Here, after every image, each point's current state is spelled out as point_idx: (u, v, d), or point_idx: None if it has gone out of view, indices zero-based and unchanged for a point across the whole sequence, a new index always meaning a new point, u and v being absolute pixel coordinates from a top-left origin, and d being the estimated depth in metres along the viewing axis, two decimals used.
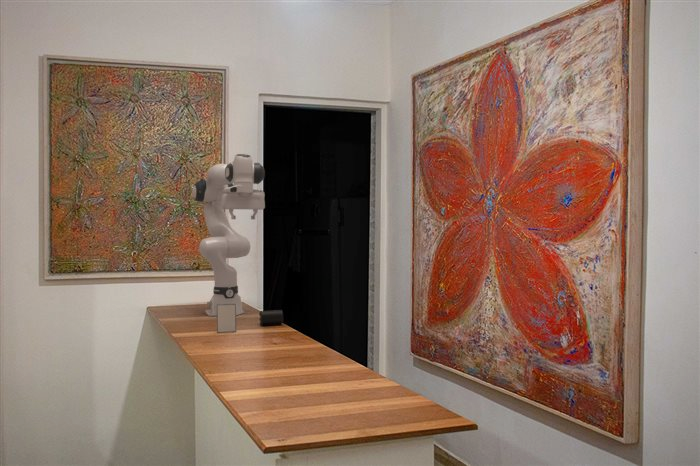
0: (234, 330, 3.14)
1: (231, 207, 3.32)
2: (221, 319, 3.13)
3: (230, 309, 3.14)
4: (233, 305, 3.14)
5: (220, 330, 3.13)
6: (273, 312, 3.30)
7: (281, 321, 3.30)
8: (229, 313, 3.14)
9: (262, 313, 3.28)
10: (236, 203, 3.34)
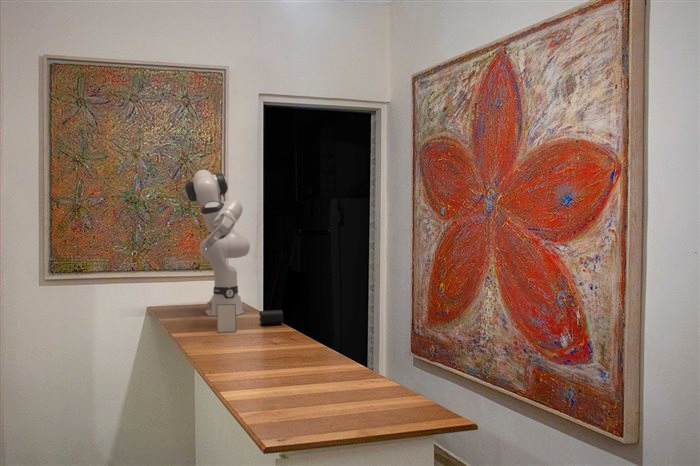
0: (234, 330, 3.14)
1: (224, 232, 3.18)
2: (221, 319, 3.13)
3: (230, 309, 3.14)
4: (233, 305, 3.14)
5: (220, 330, 3.13)
6: (273, 312, 3.30)
7: (281, 321, 3.30)
8: (229, 313, 3.14)
9: (262, 313, 3.28)
10: None
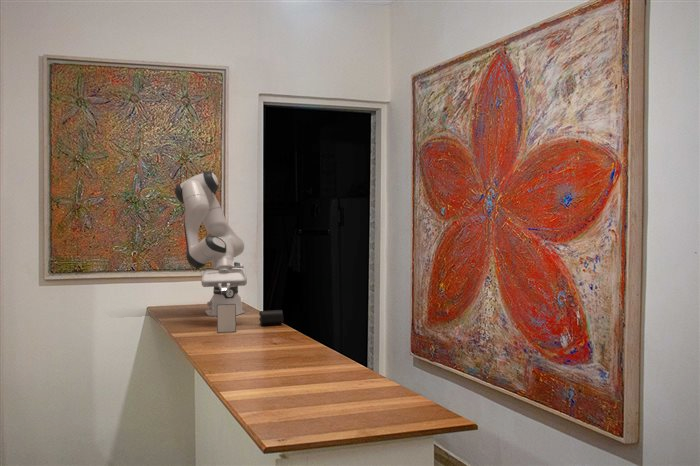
0: (234, 330, 3.14)
1: None
2: (221, 319, 3.13)
3: (230, 309, 3.14)
4: (233, 305, 3.14)
5: (220, 330, 3.13)
6: (273, 312, 3.30)
7: (281, 321, 3.30)
8: (229, 313, 3.14)
9: (262, 313, 3.28)
10: None
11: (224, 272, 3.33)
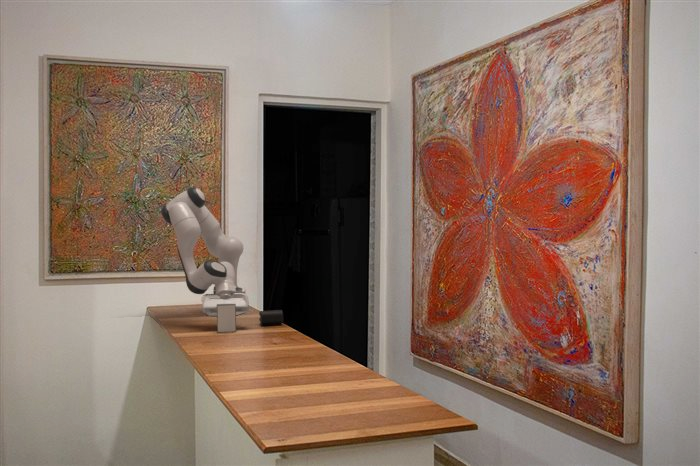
0: (234, 330, 3.14)
1: None
2: (221, 320, 3.13)
3: (230, 309, 3.13)
4: (233, 305, 3.13)
5: (220, 330, 3.13)
6: (273, 312, 3.30)
7: (281, 321, 3.30)
8: (229, 313, 3.13)
9: (262, 313, 3.28)
10: None
11: (225, 297, 3.22)
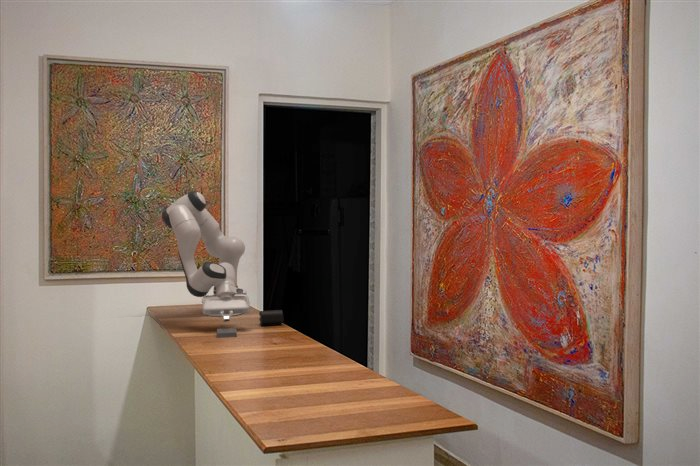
0: None
1: None
2: None
3: None
4: None
5: None
6: (273, 312, 3.30)
7: (281, 321, 3.30)
8: None
9: (262, 313, 3.28)
10: None
11: (226, 299, 3.17)
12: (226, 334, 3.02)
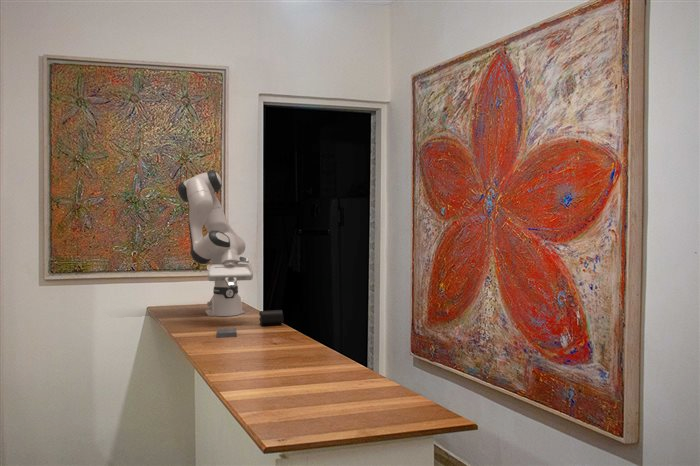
0: None
1: None
2: None
3: None
4: None
5: None
6: (273, 312, 3.30)
7: (281, 321, 3.30)
8: None
9: (262, 313, 3.28)
10: None
11: (230, 266, 3.33)
12: (226, 334, 3.02)
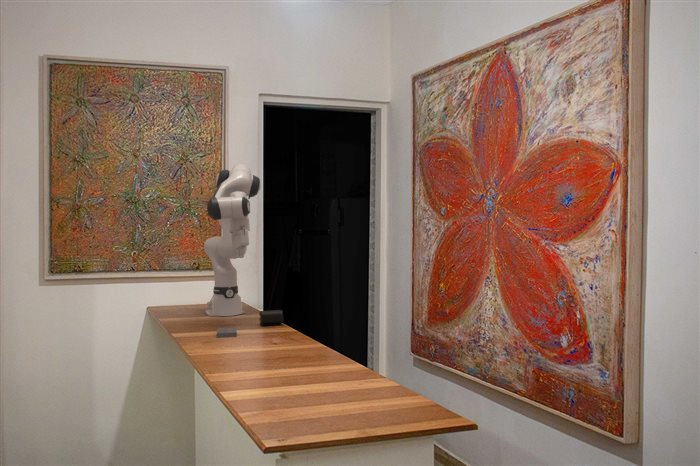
0: None
1: (234, 247, 3.39)
2: None
3: None
4: None
5: None
6: (273, 312, 3.30)
7: (281, 321, 3.30)
8: None
9: (262, 313, 3.28)
10: (235, 243, 3.37)
11: None
12: (226, 334, 3.02)
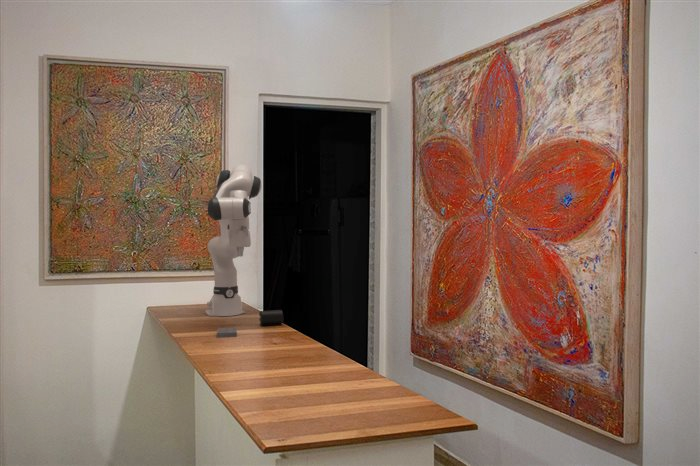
0: None
1: (231, 244, 3.38)
2: None
3: None
4: None
5: None
6: (273, 312, 3.30)
7: (281, 321, 3.30)
8: None
9: (262, 313, 3.28)
10: (233, 240, 3.36)
11: None
12: (226, 334, 3.02)
